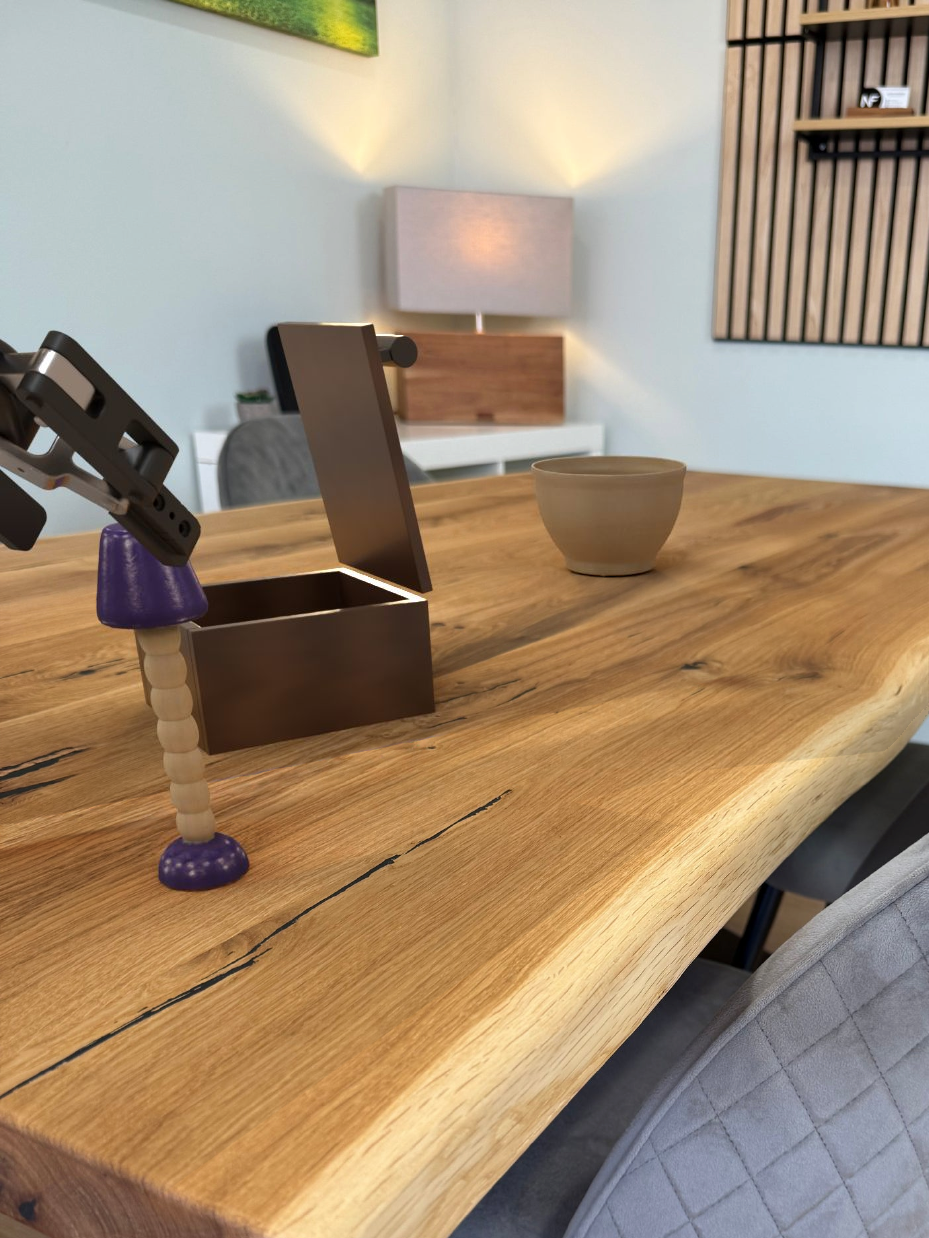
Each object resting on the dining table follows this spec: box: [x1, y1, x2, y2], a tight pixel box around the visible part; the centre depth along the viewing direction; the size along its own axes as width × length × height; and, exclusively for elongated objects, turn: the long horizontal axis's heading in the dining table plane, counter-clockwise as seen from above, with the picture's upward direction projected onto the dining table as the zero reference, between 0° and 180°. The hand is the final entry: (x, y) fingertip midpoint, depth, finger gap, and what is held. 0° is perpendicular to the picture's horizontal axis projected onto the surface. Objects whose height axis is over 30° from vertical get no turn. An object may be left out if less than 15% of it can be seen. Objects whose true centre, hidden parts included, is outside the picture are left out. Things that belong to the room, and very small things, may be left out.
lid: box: [276, 321, 434, 595], centre depth 76 cm, size 15×13×5 cm
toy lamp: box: [95, 522, 250, 892], centre depth 55 cm, size 5×5×17 cm
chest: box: [133, 567, 436, 756], centre depth 77 cm, size 15×13×9 cm
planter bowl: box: [531, 454, 687, 577], centre depth 128 cm, size 16×16×11 cm
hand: (107, 541), depth 51 cm, fingers open, 8 cm apart
